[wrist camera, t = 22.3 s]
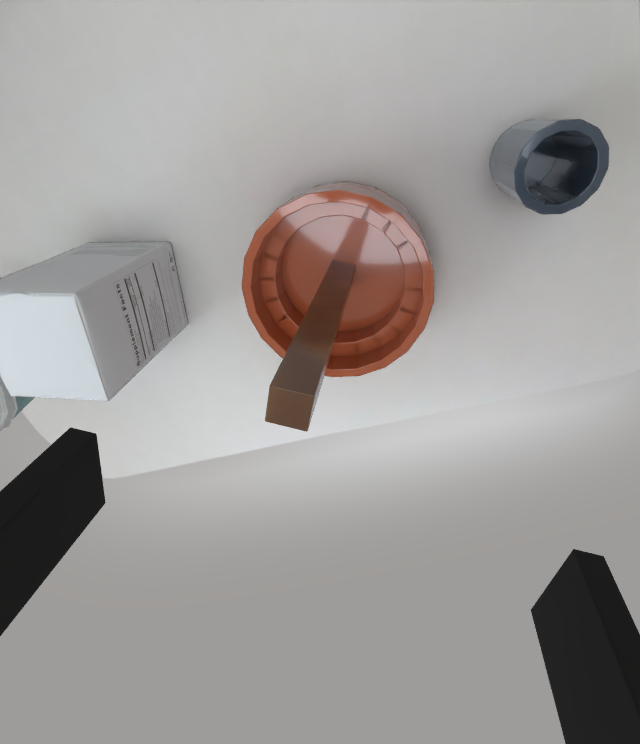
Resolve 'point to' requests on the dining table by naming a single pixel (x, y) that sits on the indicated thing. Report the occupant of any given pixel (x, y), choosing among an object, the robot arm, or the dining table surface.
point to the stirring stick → (310, 352)
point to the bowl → (370, 281)
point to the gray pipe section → (550, 163)
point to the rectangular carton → (88, 319)
